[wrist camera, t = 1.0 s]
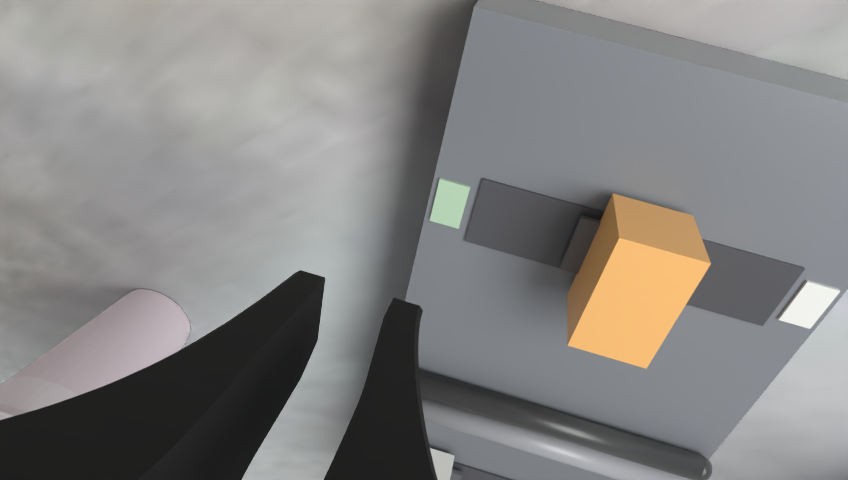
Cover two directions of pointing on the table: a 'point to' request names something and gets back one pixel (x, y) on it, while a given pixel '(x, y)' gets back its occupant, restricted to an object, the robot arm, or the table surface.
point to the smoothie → (99, 352)
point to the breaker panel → (589, 196)
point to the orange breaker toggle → (631, 278)
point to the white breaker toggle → (444, 466)
